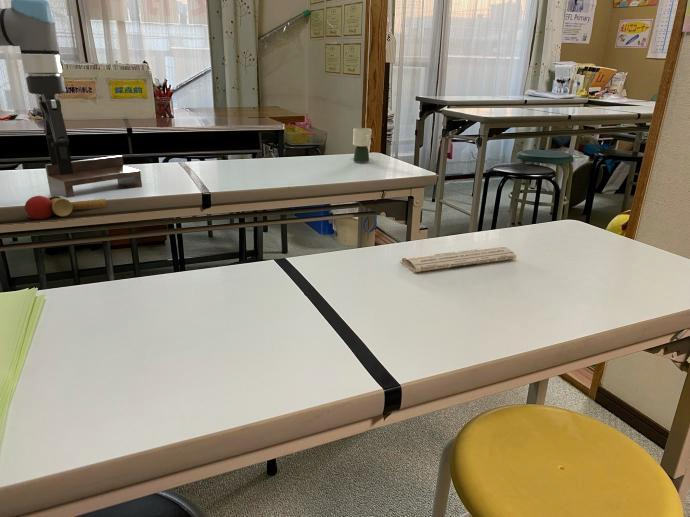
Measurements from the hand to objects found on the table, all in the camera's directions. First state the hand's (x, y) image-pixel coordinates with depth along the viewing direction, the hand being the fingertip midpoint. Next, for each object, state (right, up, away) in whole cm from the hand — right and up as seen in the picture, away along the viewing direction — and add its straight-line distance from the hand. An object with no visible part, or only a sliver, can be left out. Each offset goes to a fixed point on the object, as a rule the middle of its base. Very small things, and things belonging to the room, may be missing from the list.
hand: (62, 169), depth 123 cm
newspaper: (+91, -22, -17) cm, 95 cm away
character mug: (+74, +17, +82) cm, 112 cm away
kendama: (-1, -11, +4) cm, 12 cm away
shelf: (-5, -2, +28) cm, 28 cm away
